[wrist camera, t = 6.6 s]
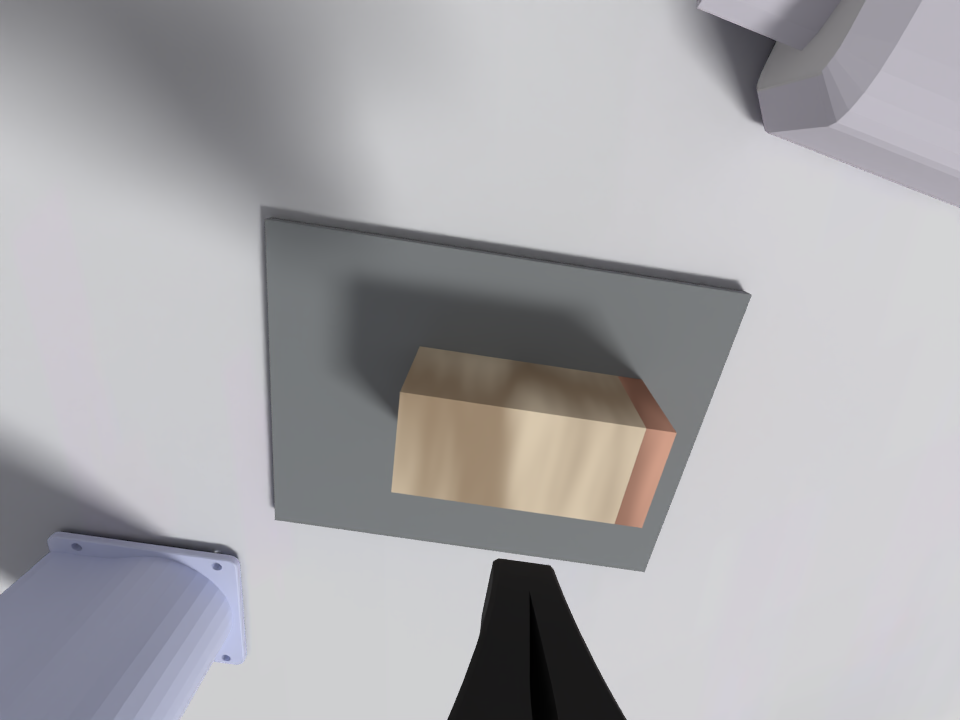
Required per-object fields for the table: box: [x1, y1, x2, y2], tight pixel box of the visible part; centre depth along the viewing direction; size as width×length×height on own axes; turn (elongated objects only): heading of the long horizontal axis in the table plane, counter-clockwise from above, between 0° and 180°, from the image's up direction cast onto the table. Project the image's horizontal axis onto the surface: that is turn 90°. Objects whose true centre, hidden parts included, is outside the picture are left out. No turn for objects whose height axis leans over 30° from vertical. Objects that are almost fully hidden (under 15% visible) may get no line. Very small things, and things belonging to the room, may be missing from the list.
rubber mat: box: [265, 218, 751, 572], centre depth 20 cm, size 18×14×1 cm
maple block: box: [391, 346, 677, 528], centre depth 18 cm, size 4×4×9 cm
